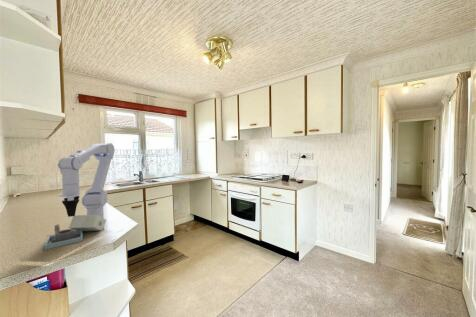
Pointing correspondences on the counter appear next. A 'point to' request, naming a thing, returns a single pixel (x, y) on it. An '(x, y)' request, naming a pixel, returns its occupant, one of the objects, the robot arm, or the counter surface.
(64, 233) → the dark grey block
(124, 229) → the counter surface
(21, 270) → the counter surface
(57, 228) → the stake board
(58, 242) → the tray
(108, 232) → the counter surface
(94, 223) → the small box
